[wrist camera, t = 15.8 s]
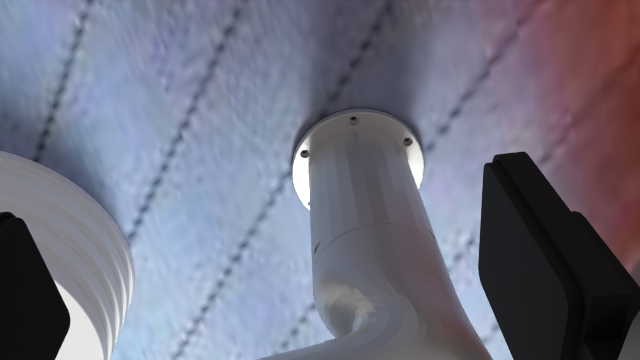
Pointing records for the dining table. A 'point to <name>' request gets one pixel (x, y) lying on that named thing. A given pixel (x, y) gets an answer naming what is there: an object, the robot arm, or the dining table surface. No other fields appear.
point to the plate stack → (74, 253)
